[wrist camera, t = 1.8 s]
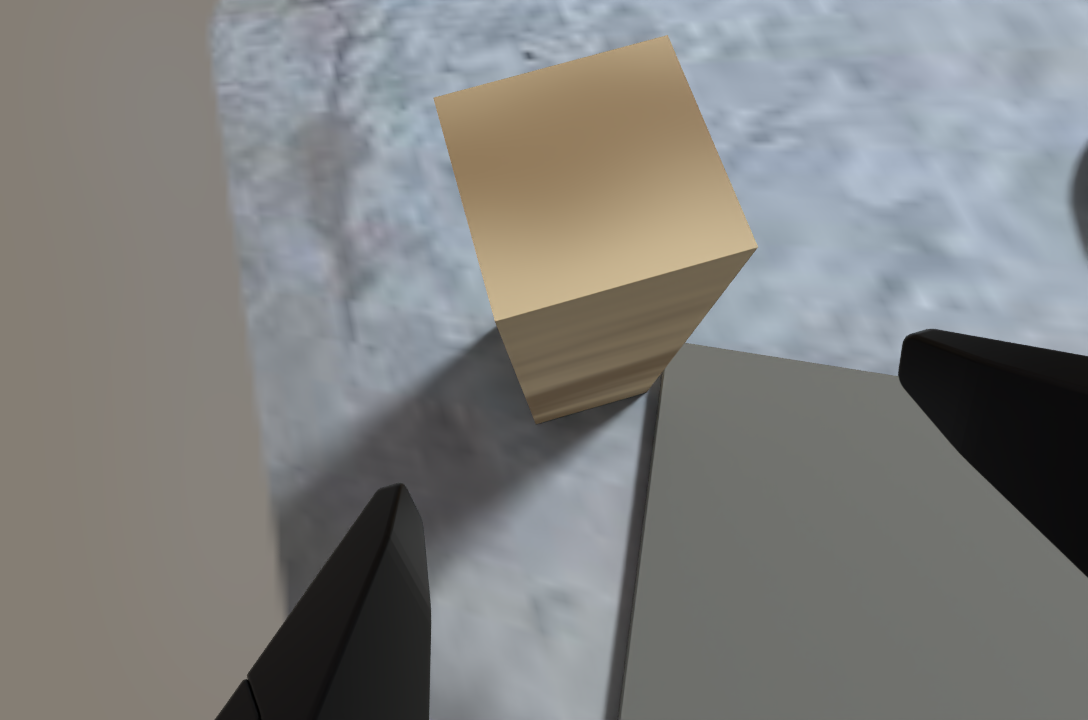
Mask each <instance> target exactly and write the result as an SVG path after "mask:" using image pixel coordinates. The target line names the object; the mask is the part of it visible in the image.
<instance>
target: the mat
mask: <svg viewBox="0 0 1088 720" xmlns="http://www.w3.org/2000/svg"><path fill="white" fill-rule="evenodd" d="M618 720H1088V578H1087V577H1086V576H1085V575H1084V574H1083V573H1082V572H1081V571H1080V570H1079V569H1078V568H1077V567H1076V566H1075V565H1074V564H1073V563H1072V562H1071V561H1070V560H1069V559H1068V558H1067V557H1065V556H1064V555H1063V554H1062V553H1061V552H1060V551H1059V550H1058V549H1057V548H1056V547H1055V546H1054V545H1053V544H1052V543H1051V542H1050V541H1049V540H1048V539H1047V538H1046V537H1045V536H1044V535H1043V534H1042V533H1041V532H1040V531H1039V530H1038V529H1037V528H1035V527H1034V526H1033V525H1032V524H1031V523H1030V522H1029V521H1028V520H1027V519H1026V518H1025V517H1024V516H1023V515H1022V514H1021V513H1020V512H1019V511H1018V510H1017V509H1016V508H1015V507H1014V506H1013V505H1012V504H1011V503H1010V502H1009V501H1008V500H1006V499H1005V498H1004V497H1003V496H1002V495H1001V494H1000V493H999V492H998V491H997V490H996V489H995V488H994V487H993V486H992V485H991V484H990V483H989V482H988V481H987V480H986V479H985V478H984V477H983V476H982V475H981V474H980V473H979V472H978V471H976V470H975V469H974V468H973V467H972V466H971V465H970V464H969V463H968V462H967V461H966V460H965V459H964V458H963V457H962V456H961V455H960V454H959V452H958V451H957V450H956V449H955V448H954V447H953V446H952V445H951V444H950V442H949V441H948V440H947V439H946V438H945V437H944V435H943V434H942V433H941V432H940V431H939V429H938V428H937V427H936V426H935V425H934V424H933V422H932V421H931V420H930V419H929V418H928V417H927V415H926V414H925V413H924V412H923V411H922V409H921V408H920V407H919V406H918V405H917V404H916V402H915V401H914V400H913V399H912V398H911V397H910V395H909V394H908V393H907V392H906V391H905V389H904V388H903V387H902V385H901V383H900V381H899V376H893V375H886V374H880V373H874V372H867V371H861V370H854V369H848V368H842V367H835V366H829V365H823V364H816V363H810V362H803V361H797V360H791V359H784V358H778V357H772V356H765V355H759V354H752V353H746V352H740V351H733V350H727V349H721V348H714V347H708V346H701V345H695V344H689V343H684V344H683V346H682V347H681V348H680V350H679V351H678V352H677V353H676V355H675V356H674V357H673V359H672V360H671V361H670V363H669V364H668V365H667V366H666V368H665V369H664V370H663V372H662V378H661V386H660V394H659V402H658V409H657V417H656V425H655V433H654V441H653V449H652V457H651V464H650V472H649V480H648V488H647V496H646V504H645V511H644V519H643V527H642V535H641V543H640V551H639V559H638V566H637V574H636V582H635V590H634V598H633V606H632V613H631V621H630V629H629V637H628V645H627V653H626V661H625V668H624V676H623V684H622V692H621V700H620V708H619V715H618Z"/></svg>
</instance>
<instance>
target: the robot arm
mask: <svg viewBox="0 0 1088 720" xmlns="http://www.w3.org/2000/svg"><path fill="white" fill-rule="evenodd" d="M898 376H899V381H900V383H901V385H902V387H903V388H904V389H905V391H906V392H907V393H908V394H909V395H910V397H911V398H912V399H913V400H914V401H915V402H916V404H917V405H918V406H919V407H920V408H921V409H922V411H923V412H924V413H925V414H926V415H927V417H928V418H929V419H930V420H931V421H932V422H933V424H934V425H935V426H936V427H937V428H938V429H939V431H940V432H941V433H942V434H943V435H944V437H945V438H946V439H947V440H948V441H949V442H950V444H951V445H952V446H953V447H954V448H955V449H956V450H957V451H958V452H959V454H960V455H961V456H962V457H963V458H964V459H965V460H966V461H967V462H968V463H969V464H970V465H971V466H972V467H973V468H974V469H975V470H976V471H978V472H979V473H980V474H981V475H982V476H983V477H984V478H985V479H986V480H987V481H988V482H989V483H990V484H991V485H992V486H993V487H994V488H995V489H996V490H997V491H998V492H999V493H1000V494H1001V495H1002V496H1003V497H1004V498H1005V499H1006V500H1008V501H1009V502H1010V503H1011V504H1012V505H1013V506H1014V507H1015V508H1016V509H1017V510H1018V511H1019V512H1020V513H1021V514H1022V515H1023V516H1024V517H1025V518H1026V519H1027V520H1028V521H1029V522H1030V523H1031V524H1032V525H1033V526H1034V527H1035V528H1037V529H1038V530H1039V531H1040V532H1041V533H1042V534H1043V535H1044V536H1045V537H1046V538H1047V539H1048V540H1049V541H1050V542H1051V543H1052V544H1053V545H1054V546H1055V547H1056V548H1057V549H1058V550H1059V551H1060V552H1061V553H1062V554H1063V555H1064V556H1065V557H1067V558H1068V559H1069V560H1070V561H1071V562H1072V563H1073V564H1074V565H1075V566H1076V567H1077V568H1078V569H1079V570H1080V571H1081V572H1082V573H1083V574H1084V575H1085V576H1086V577H1087V578H1088V356H1084V355H1078V354H1072V353H1067V352H1061V351H1056V350H1050V349H1044V348H1039V347H1033V346H1027V345H1022V344H1016V343H1011V342H1005V341H999V340H994V339H988V338H983V337H977V336H971V335H966V334H960V333H954V332H949V331H943V330H938V329H926V330H923V331H919V332H916V333H912V334H910V335H908V336H906V338H905V339H904V341H903V344H902V351H901V357H900V364H899V371H898ZM430 656H431V603H430V591H429V581H428V570H427V560H426V549H425V539H424V528H423V523H422V519H421V516H420V514H419V512H418V510H417V508H416V506H415V504H414V502H413V500H412V498H411V496H410V494H409V492H408V489H407V488H406V486H405V485H404V484H402V483H396V484H393V485H389V486H386V487H383V488H380V489H379V490H378V491H377V492H376V493H375V494H374V496H373V497H372V499H371V500H370V501H369V503H368V504H367V506H366V507H365V508H364V510H363V511H362V513H361V514H360V516H359V517H358V518H357V520H356V521H355V523H354V524H353V525H352V527H351V528H350V530H349V531H348V533H347V534H346V535H345V537H344V538H343V540H342V541H341V542H340V544H339V545H338V547H337V548H336V550H335V551H334V552H333V554H332V555H331V557H330V558H329V559H328V561H327V562H326V564H325V565H324V567H323V568H322V569H321V571H320V572H319V574H318V575H317V576H316V578H315V579H314V581H313V582H312V583H311V585H310V586H309V588H308V589H307V591H306V592H305V593H304V595H303V596H302V598H301V599H300V600H299V602H298V603H297V605H296V606H295V608H294V609H293V610H292V612H291V613H290V615H289V616H288V617H287V619H286V620H285V622H284V623H283V625H282V626H281V628H280V629H279V630H278V632H277V633H276V634H275V636H274V637H273V639H272V640H271V642H270V643H269V644H268V646H267V648H266V649H265V650H264V652H263V653H262V654H261V656H260V657H259V659H258V660H257V662H256V663H255V664H254V666H253V667H252V668H251V670H250V671H249V673H248V674H247V678H248V680H247V679H246V680H243V681H242V682H241V684H240V685H239V687H238V688H237V689H236V691H235V692H234V694H233V695H232V696H231V698H230V699H229V701H228V702H227V704H226V705H225V706H224V708H223V709H222V710H221V712H220V713H219V715H218V716H217V717H216V719H215V720H429V699H430Z"/></svg>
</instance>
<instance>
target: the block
mask: <svg viewBox="0 0 1088 720" xmlns="http://www.w3.org/2000/svg"><path fill="white" fill-rule="evenodd" d="M434 102H435V105H436V109H437V113H438V116H439V120H440V123H441V127H442V131H443V134H444V138H445V142H446V145H447V149H448V152H449V156H450V160H451V163H452V167H453V171H454V174H455V178H456V182H457V185H458V189H459V192H460V196H461V200H462V203H463V207H464V211H465V214H466V218H467V221H468V225H469V229H470V232H471V236H472V240H473V243H474V247H475V250H476V254H477V258H478V261H479V265H480V269H481V272H482V276H483V280H484V283H485V287H486V290H487V294H488V298H489V301H490V305H491V309H492V312H493V316H494V319H495V323H496V325H497V328H498V330H499V333H500V335H501V338H502V340H503V343H504V345H505V348H506V350H507V353H508V355H509V358H510V360H511V363H512V365H513V368H514V370H515V373H516V375H517V378H518V380H519V383H520V385H521V388H522V390H523V393H524V395H525V398H526V400H527V403H528V405H529V408H530V411H531V413H532V416H533V418H534V421H535V423H536V424H539V423H542V422H546V421H549V420H553V419H556V418H560V417H563V416H566V415H570V414H573V413H577V412H580V411H584V410H587V409H591V408H594V407H598V406H601V405H604V404H608V403H611V402H615V401H618V400H622V399H625V398H629V397H632V396H636V395H639V394H642V393H646V392H647V391H648V390H649V389H650V387H651V386H652V385H653V383H654V382H655V381H656V380H657V378H658V377H659V376H660V374H661V373H662V372H663V370H664V369H665V368H666V366H667V365H668V364H669V363H670V361H671V360H672V359H673V357H674V356H675V355H676V353H677V352H678V351H679V350H680V348H681V347H682V346H683V344H684V343H685V342H686V340H687V339H688V338H689V336H690V335H691V334H692V333H693V331H694V330H695V329H696V327H697V326H698V325H699V323H700V322H701V321H702V320H703V318H704V317H705V316H706V314H707V313H708V312H709V310H710V309H711V308H712V306H713V305H714V304H715V303H716V301H717V300H718V299H719V297H720V296H721V295H722V293H723V292H724V291H725V290H726V288H727V287H728V286H729V284H730V283H731V282H732V280H733V279H734V278H735V276H736V275H737V274H738V273H739V271H740V270H741V269H742V267H743V266H744V265H745V263H746V262H747V261H748V260H749V258H750V257H751V256H752V254H753V253H754V252H755V250H756V249H757V248H758V246H757V244H756V241H755V239H754V237H753V234H752V232H751V230H750V227H749V225H748V223H747V220H746V218H745V215H744V213H743V211H742V208H741V206H740V204H739V201H738V199H737V197H736V194H735V192H734V190H733V187H732V185H731V183H730V180H729V178H728V176H727V173H726V171H725V169H724V166H723V164H722V162H721V159H720V157H719V155H718V152H717V150H716V148H715V145H714V143H713V141H712V138H711V136H710V133H709V131H708V129H707V126H706V124H705V122H704V119H703V117H702V115H701V112H700V110H699V108H698V105H697V103H696V101H695V98H694V96H693V94H692V91H691V89H690V87H689V84H688V82H687V80H686V77H685V75H684V73H683V70H682V68H681V66H680V63H679V61H678V59H677V56H676V54H675V51H674V49H673V47H672V44H671V42H670V40H669V37H668V35H667V36H663V37H659V38H655V39H652V40H648V41H644V42H640V43H637V44H633V45H629V46H626V47H622V48H618V49H614V50H611V51H607V52H603V53H599V54H596V55H592V56H588V57H584V58H581V59H577V60H573V61H569V62H566V63H562V64H558V65H554V66H551V67H547V68H543V69H539V70H536V71H532V72H528V73H524V74H521V75H517V76H513V77H510V78H506V79H502V80H498V81H495V82H491V83H487V84H483V85H480V86H476V87H472V88H468V89H465V90H461V91H457V92H453V93H450V94H446V95H442V96H438V97H435V98H434Z"/></svg>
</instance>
